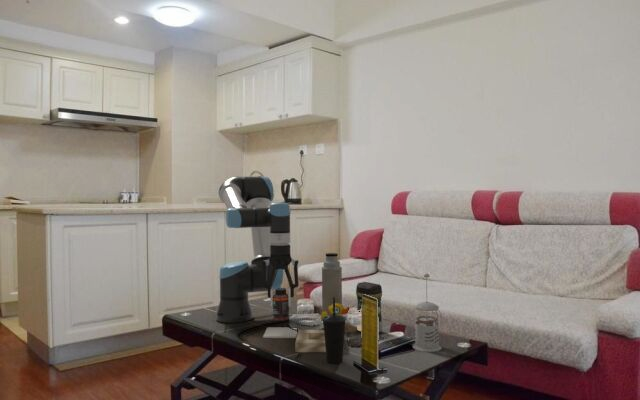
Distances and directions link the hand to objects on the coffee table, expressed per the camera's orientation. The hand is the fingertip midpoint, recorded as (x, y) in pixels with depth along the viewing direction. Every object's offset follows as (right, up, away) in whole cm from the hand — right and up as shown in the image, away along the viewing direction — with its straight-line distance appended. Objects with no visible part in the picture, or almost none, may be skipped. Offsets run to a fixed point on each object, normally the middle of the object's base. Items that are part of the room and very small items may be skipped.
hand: (281, 305), depth 190 cm
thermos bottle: (+20, -10, +15) cm, 26 cm away
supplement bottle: (0, -5, 0) cm, 5 cm away
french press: (+52, -10, -17) cm, 55 cm away
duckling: (+20, -10, +6) cm, 23 cm away
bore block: (+15, -10, -14) cm, 23 cm away
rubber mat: (0, -10, 0) cm, 10 cm away
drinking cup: (+19, -11, -31) cm, 38 cm away
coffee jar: (+33, -10, +1) cm, 35 cm away
